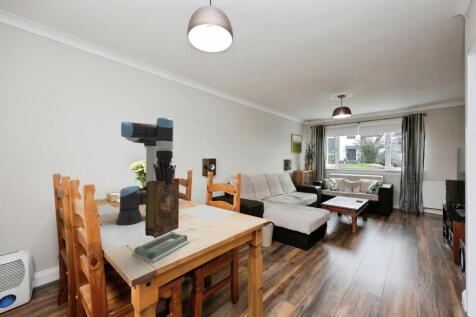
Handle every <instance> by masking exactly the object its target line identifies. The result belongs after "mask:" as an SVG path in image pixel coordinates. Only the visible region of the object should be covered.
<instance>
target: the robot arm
mask: <svg viewBox="0 0 476 317" xmlns="http://www.w3.org/2000/svg"><path fill="white" fill-rule="evenodd" d="M120 126H121V127H120V136H121V137H122V138H125V139H126V140H127V141H129V142H132V143H135V144H143V147H144V148H145V151H146V154H145V183H143V185H142V187H140V186H139V185H132V186H127V187H124V188H121V190H120V191H119V212H118V214H117V217H116V220H115V221H116V225H119V226H128V225H129V226H130V225H134V224H138V223H141V222H142V220H143V216H142V212H141V210H140V206H144V205H145V206H146V182H148V181H156V180H159V181H166V185H171V184H172V180H173V179H174V174H175V169H176V167H177V165H175V164H173V161H172V159H173V157H174V156H173V155H174V154H173V153H174V152H173V150H174V120H173V119H172V118H169V117H158V118H156V124H154V123H151V124H150V123H141V122H131V121H122V122H121V125H120Z"/></svg>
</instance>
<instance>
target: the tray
mask: <svg viewBox="0 0 476 317" xmlns="http://www.w3.org/2000/svg"><path fill="white" fill-rule="evenodd" d="M189 244H190V240H188V235H185V234H181V233H178V232H174V231H171V232H169V233H166V234H164V235H162V236H159V237H157V238H154V239H153V240H149V241H148V242H146V243H144V244H141V245H140V246H139V245H138V246H137V247H134V252H132V253H131V256H134V257H136V258H139V259H141V260H144V261H147V262H150V263H153V264H155V263H157V262H159V261H160V260H162V259H164V258H165V257H167V256H169V255H171V254H173V253H174V252H176V251H178V250H180V249H181V248H183V247H185V246H187V245H189Z"/></svg>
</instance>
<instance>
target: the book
mask: <svg viewBox="0 0 476 317" xmlns="http://www.w3.org/2000/svg"><path fill="white" fill-rule="evenodd" d="M145 183H146V205H145V219H144V220H145V221H144V222H145V223H144V225H145V226H144V227H145V229H144V231H145V236H147V237H153V238H154V239H157V238H159V237H161V236H164V235H166V234H168V233H170V232H174V231H175V230H177V229H179V226H180V225H179V219H180V218H179V217H180V216H179V213H180V212H179V209H180V178H173V180H172V184H171V185H166V181H159V180H156V181H148V182H146V181H145Z"/></svg>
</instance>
